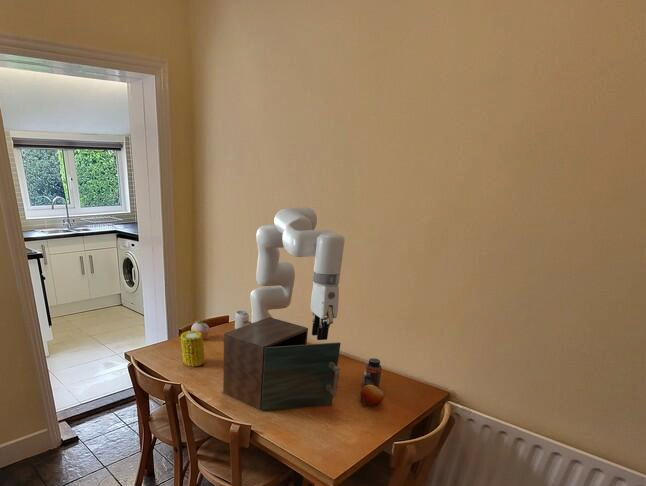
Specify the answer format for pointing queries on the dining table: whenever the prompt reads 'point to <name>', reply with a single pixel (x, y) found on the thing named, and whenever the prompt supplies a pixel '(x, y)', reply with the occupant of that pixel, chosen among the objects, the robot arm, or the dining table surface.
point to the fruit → (371, 395)
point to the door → (300, 376)
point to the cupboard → (254, 356)
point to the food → (192, 348)
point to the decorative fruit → (201, 328)
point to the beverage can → (241, 319)
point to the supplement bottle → (372, 372)
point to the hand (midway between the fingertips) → (319, 336)
